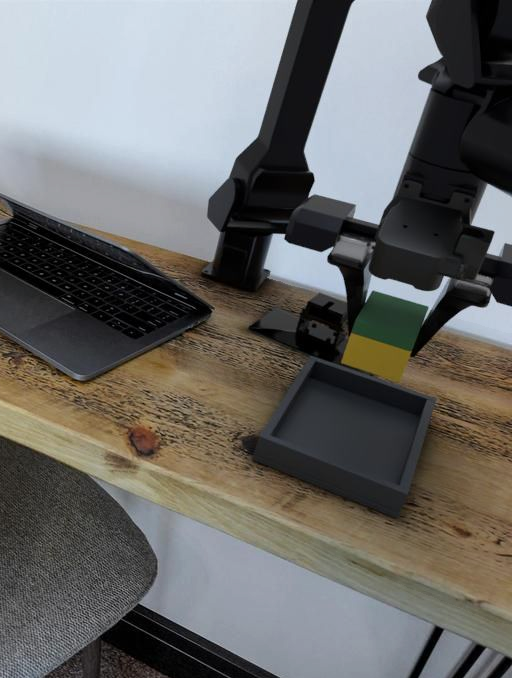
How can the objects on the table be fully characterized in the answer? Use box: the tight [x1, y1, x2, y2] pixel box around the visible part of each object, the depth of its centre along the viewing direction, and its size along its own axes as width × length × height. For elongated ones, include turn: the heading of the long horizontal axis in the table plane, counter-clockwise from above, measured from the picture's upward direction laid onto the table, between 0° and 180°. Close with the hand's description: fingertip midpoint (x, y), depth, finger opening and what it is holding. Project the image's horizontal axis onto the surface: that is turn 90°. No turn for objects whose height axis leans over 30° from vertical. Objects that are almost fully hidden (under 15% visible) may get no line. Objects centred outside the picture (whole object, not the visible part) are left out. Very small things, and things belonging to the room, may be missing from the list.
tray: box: [251, 356, 437, 519], centre depth 68 cm, size 16×11×2 cm
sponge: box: [341, 290, 430, 383], centre depth 67 cm, size 7×4×4 cm, turn 148°
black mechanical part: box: [247, 292, 373, 376], centre depth 82 cm, size 12×7×5 cm, turn 49°
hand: (381, 345), depth 67 cm, fingers closed on sponge, 4 cm apart
